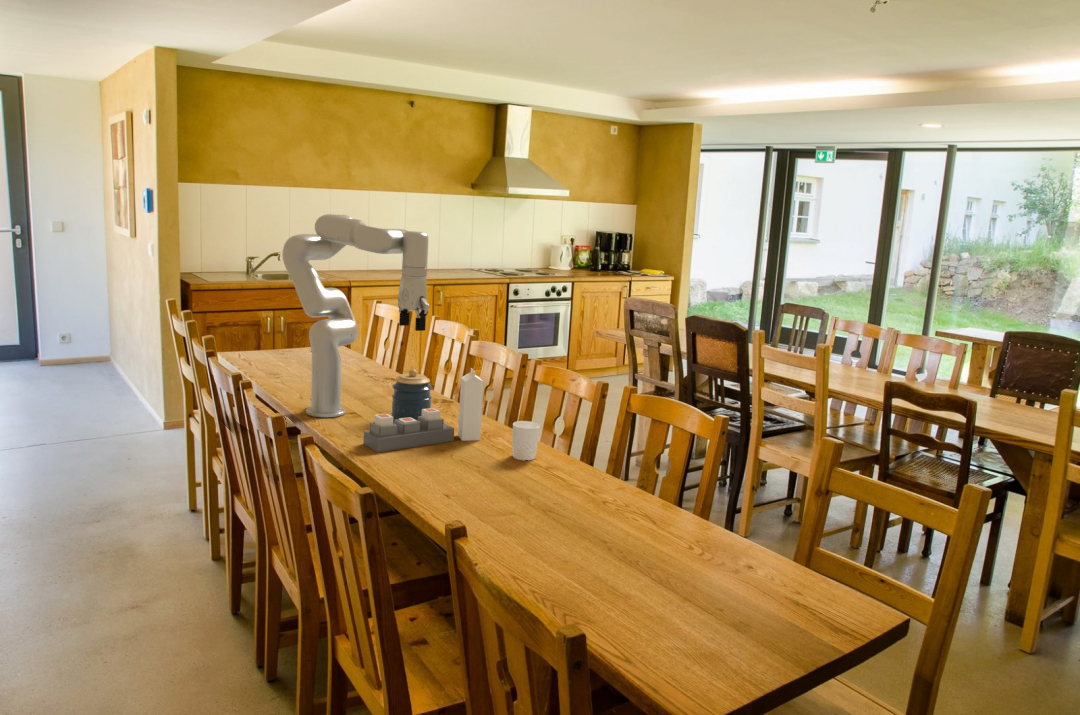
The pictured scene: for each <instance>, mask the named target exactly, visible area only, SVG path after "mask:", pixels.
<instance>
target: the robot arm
mask: <svg viewBox="0 0 1080 715" xmlns="http://www.w3.org/2000/svg"><path fill="white" fill-rule="evenodd" d="M314 231H315V234H314V233H299V234H294V235H292V236H290V237H289V238H288V239H286V241H285V242H284V245H283V248H282V261H283V264H284V268H285V270H286V271H287V273H288V275H289V277H290V278H291V281H292V284H293V286H294V288H295V292H296V295H297V297H298V299H299V302H300V304H301V307H302V310H303V311H304V313H305V314H306V316H308V317H309V318H325V317H328V318H327V319H320V320H318V321H316V322H314V323H313V324H312V325H311V327H310V328H309V332H308V338H309V342H310V344H309V345H310V350H311V383H310V384H311V385H310V386H311V387H310V388H311V389H310V390H311V391H310V392H311V395H310V397H311V398H310V406H309V407H307V408H306V409H305V413H306V414H307V415H308V416H311V417H314V418H336V417H341V416H343V415H345V414H346V409H345V408H344V407H343V406H341V404H342V403H341V402H342V401H341V400H342V399H341V398H342V397H341V396H342V363H343V362H342V356H341V354H340V352H339V348H338V347H343V346H349V345H351V344H354V342H356V340H357V338H358V336H359V327H358V324H357V321H356V318H355V316H354V313H353V311H352V308H351V305H350V303H349V301H348V299H347V296H346V295H345V293H344V292H343V291H342V290H340V289H338V288H336V287H331V286H330V287H325V286H324V284H323V283H322V281H321V280H322V279H321V278H320V275H319V273H318V272H317V270H316V269H315V268H314V266H312V265H311V264H310V263H309V261H324V260H329V259H332V257H334V256H336V254H338V253H340V251H341V250H343V248H345V247H346V246H350V247H354V248H356V249H358V250H361V251H366V252H370V253H374V254H380V255H381V254H382V255H389V254H394V255H395V254H396V255H397V254H402V260H401V262H402V263H401V264H402V266H401V277H400V282H399V288H398V297H397V306H398V308H399V309H398V313H399V323H398V325H399V326H401V327H403V326H405V327H406V326H410V313H411V312H413V311H414V312H415V314H416V317H415V324H414V325H415V327H414V329H415V331H416V332H421V331H426V324H427V323H426V319H427V316H428V314H429V309H430V304H429V302H428V285H427V284H428V283H427V278H428V259H429V257H428V255H429V234H427V232H424V231H416V230H415V231H412V230H410V231H409V230H406V229H402V228H381V227H380V228H379V227H373V226H369V225H367V224H366V223H365V222H364V221H363V220H360V219H357V218H356V219H355V218H352V217H351V216H350V215H346V214H335V213H334V214H331V213H327V214H323V215H321V216H319V217H318V218H317V219H316V221H315V222H314ZM410 311H411V312H410Z"/></svg>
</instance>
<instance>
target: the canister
mask: <svg viewBox="0 0 1080 715" xmlns="http://www.w3.org/2000/svg"><path fill="white" fill-rule="evenodd" d="M394 380H395V383H393V385H392V388H393V393H392V394H391V398H392V401H391V404H392V406H391V407H392V408H391V414H390V415H391V416H393V423H394V420H396V419H400V418H408V417H411V418H413V419H415V420H417V417H419V416H422V409H428V408H432V407H431V406H432V398H433V397H432V395H431V391H432V389H433V386H432V385H431V384H430V382H431V379H430V378H428V377H427V376H426V375H424V374H420V373H418V371H417V370H416V369H415V368H412V369H410V370H409V372H408V373H401V374H399V376H397V377H396V378H395V379H394Z"/></svg>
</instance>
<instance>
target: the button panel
mask: <svg viewBox="0 0 1080 715" xmlns="http://www.w3.org/2000/svg"><path fill="white" fill-rule="evenodd" d="M421 417H422V416H419V417H417V423H409V424H403V423H401V422H399V421H398V419H396V420H394V422H393V426H387V427H378V426H376V425H375V424H374V422H369V429H368V430H364V431H363V443H362V444H363V445H364V446H366V447H368V448H369V449H371V450H373V451H374V452H375V453H384V452H391V451H396V450H403V449H404V450H405V449H409V448H415V447H422V446H428V445H435V444H441V443H442V444H443V443H447V442H454V440H455V427H453V426H452V425H449V424H446V423H444V418H442V417H440V419H439V420H432V421H427V420H425V419H423V418H421Z"/></svg>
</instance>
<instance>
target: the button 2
mask: <svg viewBox="0 0 1080 715" xmlns="http://www.w3.org/2000/svg"><path fill="white" fill-rule="evenodd" d="M398 421H399V422H401V423H403V424H409V423H417V420H415V419H413V418H411V417H408V418H400V419H398Z"/></svg>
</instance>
